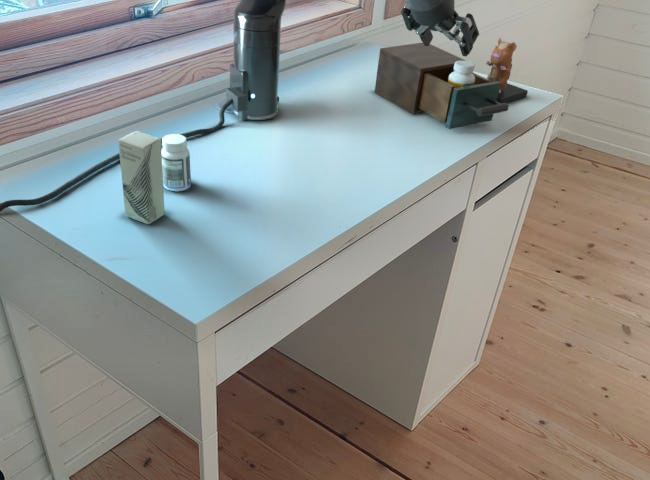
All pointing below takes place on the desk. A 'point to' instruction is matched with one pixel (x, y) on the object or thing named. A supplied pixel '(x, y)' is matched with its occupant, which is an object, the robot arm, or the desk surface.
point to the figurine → (504, 72)
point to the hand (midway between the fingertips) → (447, 47)
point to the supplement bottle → (462, 74)
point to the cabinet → (408, 72)
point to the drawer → (459, 99)
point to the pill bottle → (175, 163)
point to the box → (142, 176)
